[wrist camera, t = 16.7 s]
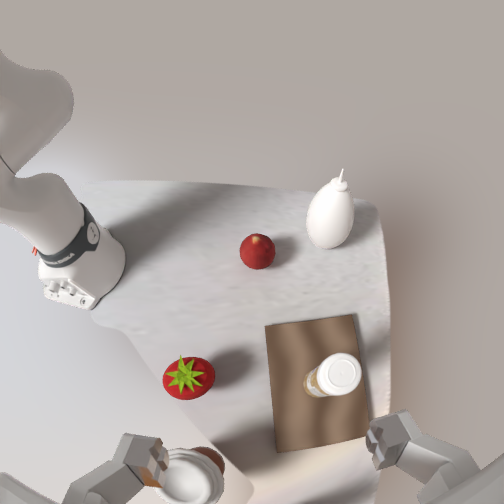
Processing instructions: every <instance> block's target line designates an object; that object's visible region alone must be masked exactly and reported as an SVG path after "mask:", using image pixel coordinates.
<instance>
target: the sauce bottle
mask: <svg viewBox="0 0 504 504" xmlns="http://www.w3.org/2000/svg"><path fill="white" fill-rule="evenodd" d="M343 173H344V169H342V171H341V174H340V177H336V178H333V179H332V180H331V182H330V183H328V184H326V185H325V186H323V187H322V188H321V189H320V190H319V191H318V192H317V194H316V195H315V196H314V198H313V200H312V202H311V203H310V206H309V208H308V212H307V218H306V227H307V231H308V235H309V237H310V239H311V241H312V242H313V243H314V244H315V245H316V246H317V247H319V248H322V249H331V248H334V247H336V246H338V245H340V244H341V243H343V242H344V241H345V239H346V238H347V237H348V235H349V234H350V231H351V229H352V226H353V222H354V203H353V198H352V195H351V192H350V190H349V188H348V183H347V181H346V180H345V179H343Z"/></svg>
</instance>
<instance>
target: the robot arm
mask: <svg viewBox="0 0 504 504" xmlns="http://www.w3.org/2000/svg"><path fill="white" fill-rule="evenodd" d="M73 106H74V99H73V93H72V89H71V87H70V85H69V83H68V81H67V80H66V79H65V78H64V77H63V76H62V75H60V74H59V73H57V72H54V71H50V70H35V69H29V68H25V67H22V66H20V65H18V64H16V63H14V62H12V61H11V60H9V59H8V58H7V57H6V56H5V55H4V54H3V53H2V51H1V50H0V223H2V224H5V225H7V226H9V227H11V228H13V229H15V230H16V231H18V232H19V233H20V234H21V235H22V236H23V237H25V238H26V239H27V240H28V241H29V242H30V243H31V244H32V245H34V248H33V251H32V253H33V252H34V250H35V255H36V253H37V251H38V252H39V254H40V256H41V257H40V261H39V267H38V275H39V278H40V280H41V281H42V282H43V291H44V296H45V297H46V298H47V299H50V300H53V301H56V302H60V303H63V304H67V305H70V306H74V307H78V308H82V309H85V310H91V309H93V308H94V307H95V305H96V304H97V302H98V301H99V299H100V298H101V297H102V296H104V295H105V294H106V293H108V292H109V291H110V290H111V289H112V288H113V287H114V286H115V285H116V284H117V282H118V281H119V279H120V277H121V275H122V273H123V270H124V266H125V251H124V249H123V247H122V245H121V244H120V243H119V242H118V241H117V240H115V239H114V238H113V237H112V236H111V234H110V232H109V231H108V230H107V229H106V228H103V227H102V226H101V225H100V224H99V223H98V222H97V221H96V220H95V219H94V218H93V216H92V215H91V214H90V212H89V211H88V209H87V208H86V207H85V206H84V205H83V204H82V203H80V202H79V201H78V200H77V199H76V197H75V196H74V194H73V193H72V191H71V190H70V188H69V187H68V185H67V184H66V183H65V181H64V179H63V178H61V177H60V176H58V175H56V174H53V173H42V174H38V175H35V176H32V177H29V178H17V177H15V175H16V173H17V172H18V171H19V170H20V169H21V168H22V167H23V166H24V165H25V164H26V163H27V162H28V161H29V160H30V159H31V158H32V157H33V156H35V154H37V153H38V152H39V151H40V150H41V149H43V148H44V147H45V146H46V145H47V144H48V143H50V141H51V140H52V139H53V138H54V137H55V136H56V135H57V133H59V131H60V130H61V129H62V128H63V127H64V126H65V125H66V124H67V123H68V122H69V121H70V119H71V116H72V112H73ZM84 302H85V304H84ZM369 426H370V429H369V430H368V431H367V433H366V445H367V448H368V451H369V452H371V453H373V454H374V455H373V457H372V461H373V463H374V466H375V468H376V471H377V470H380V469H383V468H387V467H389V466H393V465H396V466H397V467H399V468H400V469H402V470H403V471H404V472H406V473H408V474H409V475H411V476H412V477H414V478H416V479H417V480H419V481H420V482H422V483H423V484H425V486H424V487H423V488H422V489H421V491H419V493H418V494H417V497H418V499H419V502H420V504H504V453H503V454H502V455H501V456H500V457H498V458H497V459H496V460H494V461H493V462H492V463H490V464H489V465H488V466H486V467H485V468H484V469H482V470H480V469H479V467H478V466H477V464H476V462H475V461H474V459H473V458H472V456H471V455H470V453H469V452H468V451H467V450H464V449H462V448H459V447H457V446H454V445H452V444H449V443H447V442H444V441H442V440H439V439H437V438H435V437H432V436H430V435H428V434H424V435H423V434H422V432H421V431H420V429H419V428H418V426H417V424H416V423H415V421H414V420H413V418H412V417H411V415H410V413H409V412H408V410H406V409H404V410H401V411H398V412H395V413H391V414H388V415H385V416H382V417H379V418H375V419H372V420H371V421H370V424H369ZM162 444H163V442H162V441H161V439H160V438H155V437H146V436H140V435H135V434H128V433H125V434H124V435H123V436H122V437H121V440H120V442H119V445H118V447H117V449H116V452H115V454H114V456H113V459H112V461H107V462H105V463H104V464H102V465H101V466H99V467H97V468H96V469H94V470H93V471H91V472H89V473H88V474H86V475H84V476H83V477H81V478H79V479H78V480H76V481H74V482H73V483H71V485H70V487H69V489H68V491H67V493H66V495H65V498H64V500H63V502H62V504H126V503H127V502H128V501H129V500H130V499H131V498H132V497H134V496H135V495H136V494H137V493H138V492H139V491H140V490H141V489H142V488H143V487H144V486H150V487H157V488H163V487H164V483H165V479H166V475H165V474H164V471H165V470H166V469H168V466H169V454H168V451H167V450H166V448H164V447H163V446H162ZM0 504H59V503H57V502H55V501H53V500H51V499H49V498H47V497H45V496H44V495H42V494H40V493H38V492H36V491H35V490H33V489H31V488H30V487H28V486H26V485H25V484H23V483H21V482H20V481H18V480H17V479H15V478H14V477H12V476H11V475H9V474H7V473H5V472H1V473H0Z"/></svg>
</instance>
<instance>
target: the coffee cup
mask: <svg viewBox="0 0 504 504" xmlns="http://www.w3.org/2000/svg"><path fill="white" fill-rule="evenodd" d="M167 451H168V454H169V466H168V469H166V470H165V471H164V474H165V475H166V479H165V483H164V487H163V488H157V487H154V489H155V491H156V493H157V494H158V495H159V496H160V497H161V498H162V499H163V500H164V501H165V502H167V503H169V504H215V503H217V502H218V500H219V498H220V497H221V495H222V493H223V492H224V478H223V473H224V470H225V463H224V461H223V458H222V456H221V455H220V454H218V453H217V452H216V451H214V450H213V449H211V448H208V447H196V448H192V449H183V448H177V449H172V450H167Z"/></svg>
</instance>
